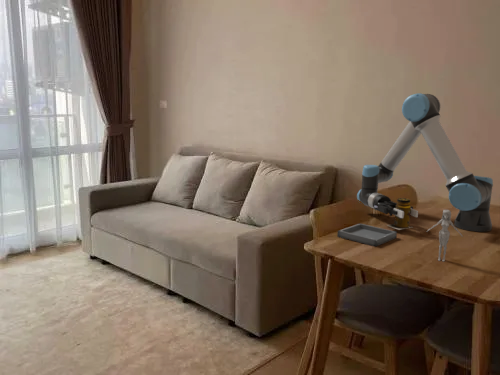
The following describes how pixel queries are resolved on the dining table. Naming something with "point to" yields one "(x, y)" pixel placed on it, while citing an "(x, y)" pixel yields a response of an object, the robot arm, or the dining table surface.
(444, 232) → the human figurine
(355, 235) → the holder
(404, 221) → the condiment
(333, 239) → the dining table surface
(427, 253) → the dining table surface
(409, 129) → the robot arm
